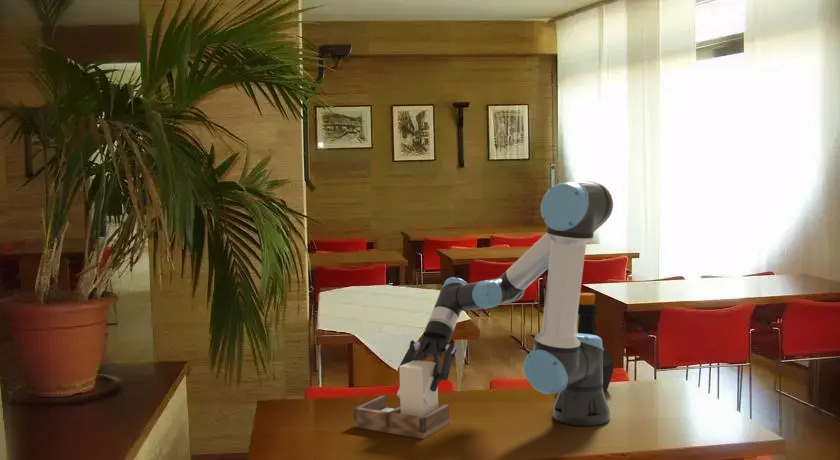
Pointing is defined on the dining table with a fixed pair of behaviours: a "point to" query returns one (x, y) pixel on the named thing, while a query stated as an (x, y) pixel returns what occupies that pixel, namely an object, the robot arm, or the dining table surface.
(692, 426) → the dining table surface
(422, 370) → the white block
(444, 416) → the rack
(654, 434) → the dining table surface
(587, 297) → the bottle
